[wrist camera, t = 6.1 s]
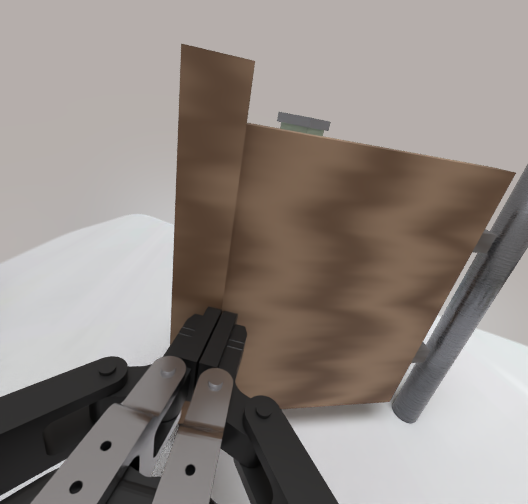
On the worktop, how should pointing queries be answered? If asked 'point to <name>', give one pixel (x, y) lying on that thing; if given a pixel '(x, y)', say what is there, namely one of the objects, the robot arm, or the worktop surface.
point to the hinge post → (468, 303)
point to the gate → (315, 242)
